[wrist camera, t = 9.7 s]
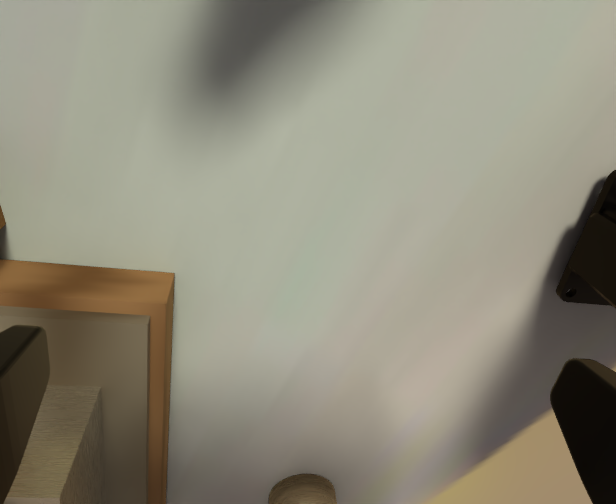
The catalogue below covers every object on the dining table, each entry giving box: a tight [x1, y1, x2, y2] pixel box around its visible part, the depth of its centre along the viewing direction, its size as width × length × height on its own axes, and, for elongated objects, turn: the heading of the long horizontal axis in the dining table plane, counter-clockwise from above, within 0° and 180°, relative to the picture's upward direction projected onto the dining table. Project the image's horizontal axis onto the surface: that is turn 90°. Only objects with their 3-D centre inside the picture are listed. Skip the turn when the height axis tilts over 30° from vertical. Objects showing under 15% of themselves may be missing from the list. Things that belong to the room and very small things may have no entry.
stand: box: [0, 259, 174, 504], centre depth 23 cm, size 10×16×3 cm, turn 171°
